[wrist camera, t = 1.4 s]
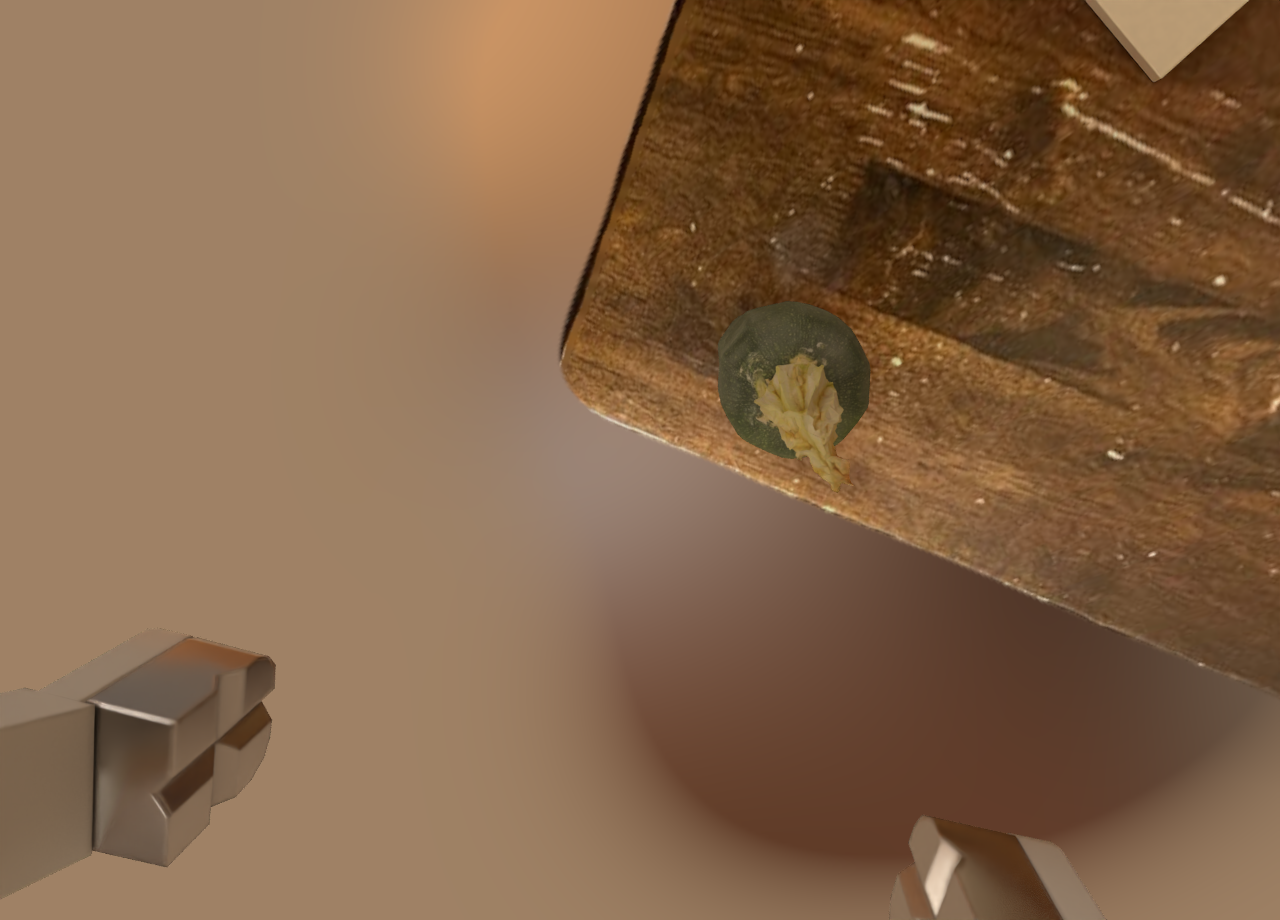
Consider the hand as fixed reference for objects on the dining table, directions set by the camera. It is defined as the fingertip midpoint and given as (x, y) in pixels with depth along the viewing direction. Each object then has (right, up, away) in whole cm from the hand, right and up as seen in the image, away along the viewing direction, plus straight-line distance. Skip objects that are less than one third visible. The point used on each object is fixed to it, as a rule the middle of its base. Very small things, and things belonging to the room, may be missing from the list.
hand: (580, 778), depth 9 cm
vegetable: (+7, +9, +25) cm, 28 cm away
